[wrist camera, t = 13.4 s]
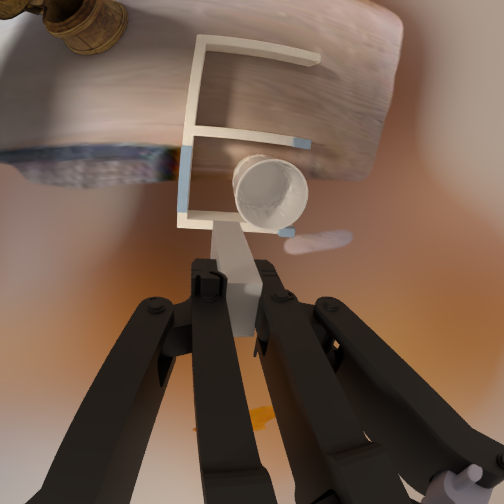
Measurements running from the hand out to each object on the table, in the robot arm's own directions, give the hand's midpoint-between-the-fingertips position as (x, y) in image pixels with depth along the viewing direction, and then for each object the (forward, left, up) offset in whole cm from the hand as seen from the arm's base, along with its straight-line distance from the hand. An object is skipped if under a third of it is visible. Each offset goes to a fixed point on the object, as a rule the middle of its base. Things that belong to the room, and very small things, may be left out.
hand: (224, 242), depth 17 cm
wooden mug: (-21, +22, -24) cm, 38 cm away
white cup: (+6, 0, -24) cm, 24 cm away
